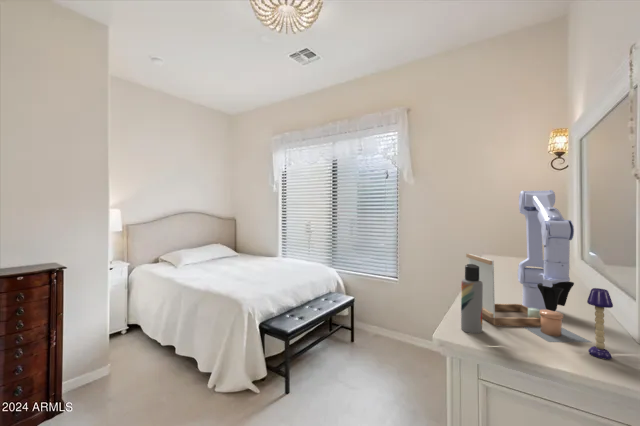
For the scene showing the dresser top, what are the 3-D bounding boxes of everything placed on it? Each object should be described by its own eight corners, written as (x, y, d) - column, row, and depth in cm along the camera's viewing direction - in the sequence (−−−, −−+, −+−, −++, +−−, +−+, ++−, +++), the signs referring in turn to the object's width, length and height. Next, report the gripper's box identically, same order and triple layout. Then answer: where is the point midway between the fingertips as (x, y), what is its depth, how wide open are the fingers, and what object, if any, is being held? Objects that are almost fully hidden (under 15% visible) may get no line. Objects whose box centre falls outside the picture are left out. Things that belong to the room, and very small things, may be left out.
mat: (560, 328, 87) (560, 327, 87) (592, 343, 77) (592, 342, 77) (522, 328, 87) (522, 326, 87) (548, 343, 77) (548, 341, 77)
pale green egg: (535, 319, 93) (535, 307, 93) (544, 324, 90) (544, 311, 90) (524, 319, 93) (525, 307, 93) (533, 324, 90) (533, 311, 89)
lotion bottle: (479, 328, 87) (480, 263, 87) (484, 335, 82) (484, 267, 82) (459, 325, 89) (460, 262, 89) (462, 332, 84) (463, 265, 83)
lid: (469, 253, 102) (466, 253, 102) (493, 260, 88) (489, 260, 88) (470, 302, 102) (467, 303, 102) (494, 317, 88) (490, 317, 88)
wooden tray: (520, 311, 102) (520, 303, 102) (551, 326, 88) (552, 318, 88) (470, 310, 102) (470, 303, 102) (494, 326, 88) (494, 318, 88)
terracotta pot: (543, 327, 87) (543, 308, 87) (565, 334, 82) (565, 313, 82) (536, 331, 84) (536, 311, 84) (559, 338, 79) (559, 317, 79)
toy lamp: (581, 350, 74) (582, 286, 73) (597, 349, 74) (598, 286, 74) (601, 360, 69) (602, 292, 69) (618, 359, 69) (619, 291, 69)
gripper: (548, 257, 90) (547, 299, 90) (530, 261, 81) (529, 308, 82) (577, 260, 84) (576, 305, 84) (561, 265, 75) (560, 316, 76)
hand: (555, 307), depth 82 cm, fingers open, 7 cm apart
